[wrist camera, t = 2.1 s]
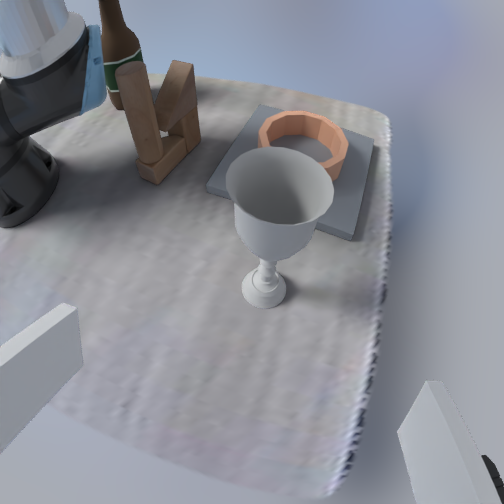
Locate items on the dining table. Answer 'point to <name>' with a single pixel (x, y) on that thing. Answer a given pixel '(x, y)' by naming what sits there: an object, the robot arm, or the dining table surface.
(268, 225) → the chalice
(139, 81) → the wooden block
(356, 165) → the slate board
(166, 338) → the dining table surface
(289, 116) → the ceramic collar
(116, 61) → the beer bottle
